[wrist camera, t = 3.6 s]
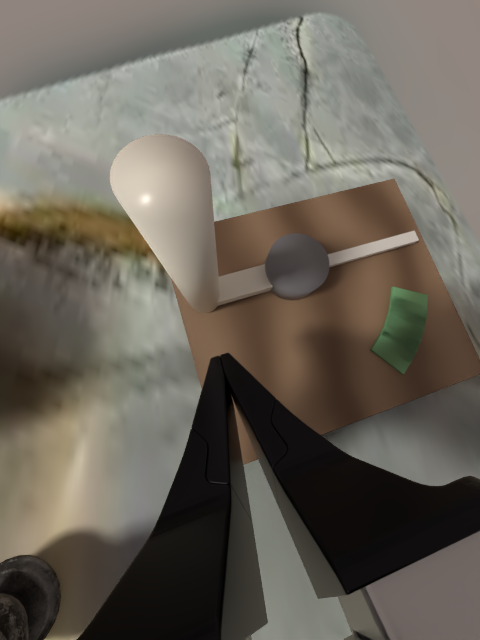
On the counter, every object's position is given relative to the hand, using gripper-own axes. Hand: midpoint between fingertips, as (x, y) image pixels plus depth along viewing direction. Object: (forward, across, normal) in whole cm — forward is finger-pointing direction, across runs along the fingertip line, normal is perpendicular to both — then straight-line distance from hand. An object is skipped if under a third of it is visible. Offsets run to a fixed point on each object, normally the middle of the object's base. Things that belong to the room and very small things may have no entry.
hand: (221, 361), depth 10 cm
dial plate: (+6, -9, +4) cm, 11 cm away
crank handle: (+8, -8, +1) cm, 11 cm away
